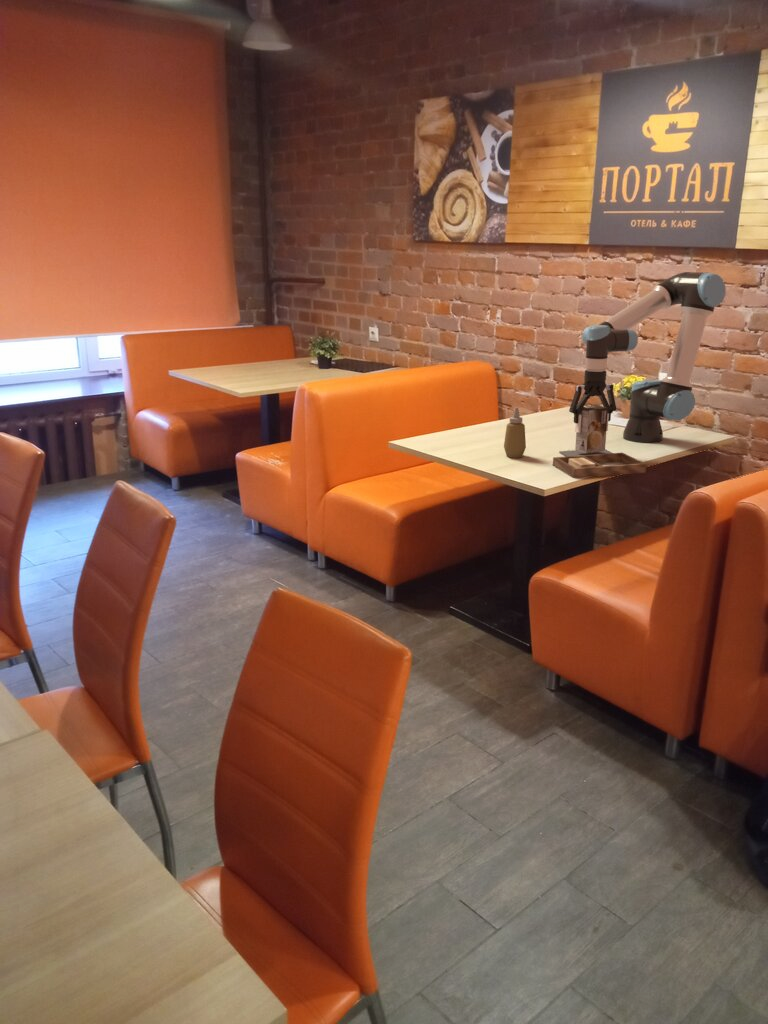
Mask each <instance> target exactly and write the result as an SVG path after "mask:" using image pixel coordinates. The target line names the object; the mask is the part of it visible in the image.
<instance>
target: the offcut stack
mask: <svg viewBox="0 0 768 1024" xmlns="http://www.w3.org/2000/svg"><path fill="white" fill-rule="evenodd" d="M568 464H569V465H571V466H573V467H575V468H583V467H595V463H593V462H591V461H589V460H587V459H585V458H570V459H569V463H568Z"/></svg>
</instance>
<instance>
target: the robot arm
mask: <svg viewBox="0 0 768 1024" xmlns="http://www.w3.org/2000/svg"><path fill="white" fill-rule="evenodd" d="M726 289H727V287H726V283H725V282H724V279H723V278H722V277H721V276H720V275H719V274H717V273H711V272H705V271H704V272H694V271H693V272H692V271H683V272H680V273H677V274H675V275H672V276H671V277H667V279H665V280H663V281H660V282H659V283H658V284H657V285H654V286H653V287H652V290H651V291H650V292H649V293H647V294H645V295H644V296H643V297H641V298H639V299H637V300H636V301H634V302H633V303H632V304H630V305H628V306H627V307H625V308H623V309H622V310H620V311H618V312H617V313H615V314H614V315H612V316H611V317H609V318H607V319H606V320H603V322H600V323H599V324H596V325H595V324H593V325H589V326H587V327H585V328H584V330H583V332H582V336H581V339H582V342H583V344H584V345H585V346H586V350H585V351H586V352H585V366H584V369H585V370H584V377H583V378H584V379H583V380H584V382H583V384H582V385H578V384H576V385H575V386H574V387H575V392H574V395H573V399H572V401H571V403H570V406H569V410H568V412H570V413H571V414H573V423H574V424H575V428H574V432H575V433H576V432H578V433H580V430H581V414H580V412H581V410H582V409H583V407H585V405H586V404H587V402H588V401H589V399H590V398H591V397H598V399H600V402H601V403H602V405H603V406H602V407H607V408H608V416H607V430H606V432H608V430H609V422H611V419H612V418H611V417H612V414H613V412H616V411H617V405H616V400H615V394H614V384H612V383H607V384H606V381H607V371H606V370H607V369H608V359H609V357H608V356H609V353H612V352H613V353H614V352H615V353H617V352H629V351H633V350H635V348H637V346H638V343H639V336H638V333H637V332H636V331H635V330H634V329H632V328H633V327H635V326H636V325H638V324H640V323H641V322H643V321H645V320H647V319H648V318H650V317H651V316H652V315H654V314H656V313H657V312H659V311H661V310H662V309H663V310H667V309H669V308H670V307H672V306H675V305H680V310H681V311H682V317H681V321H680V324H679V329H678V332H677V334H676V335H677V336H676V340H675V343H674V347H673V350H672V355H671V358H670V362H669V365H668V369H667V373H666V376H665V377H664V378H662V379H661V380H660V379H655V380H654V379H650V380H649V379H648V380H647V379H646V380H638V381H637V380H636V381H634V382H633V383H632V385H631V391H630V403H629V405H630V406H629V414H628V415H629V418H628V420H627V423H626V425H625V428H624V429H623V432H622V437H623V439H625V440H627V441H631V442H636V443H637V442H638V443H658V442H661V441H663V438H664V433H663V428H662V424H661V418H663V419H667V420H669V421H670V420H671V421H681V420H684V419H685V418H687V417H689V416H690V415H691V414H692V411H693V410H694V408H695V405H696V397H695V395H694V393H693V392H692V390H693V385H692V383H691V377H692V374H693V371H694V368H695V363H696V359H697V356H698V352H699V349H700V345H701V342H702V337H703V335H704V330H705V328H706V323H707V321H708V320H707V319H708V317H709V316H711V315H713V314H714V310H715V308H716V307H719V306H720V305H721V304H722V303H723V301H724V299H725V298H726V291H727V290H726ZM604 390H606V394H607V397H606V394H605V393H604ZM583 391H584V392H583ZM582 393H583V394H582ZM581 396H582V397H581ZM607 398H608V400H607Z"/></svg>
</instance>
